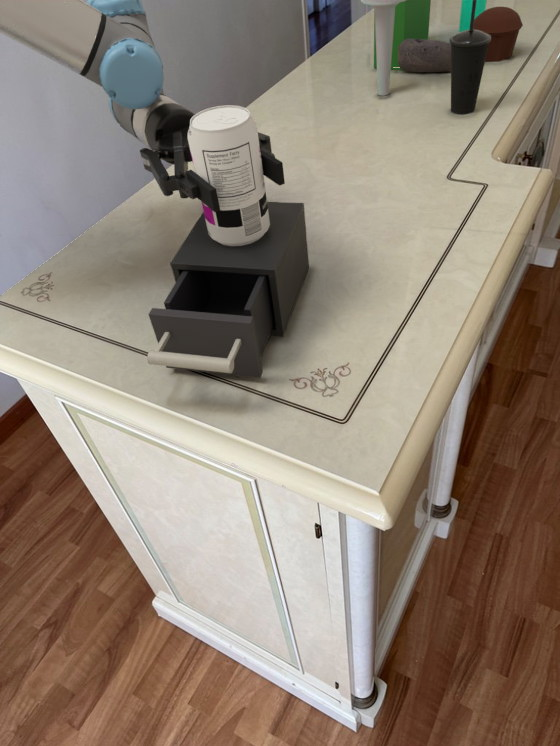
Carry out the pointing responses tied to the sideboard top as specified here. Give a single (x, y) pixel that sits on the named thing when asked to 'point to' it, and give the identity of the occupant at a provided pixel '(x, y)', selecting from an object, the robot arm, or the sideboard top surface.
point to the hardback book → (407, 26)
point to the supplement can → (230, 173)
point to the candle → (466, 13)
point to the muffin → (499, 31)
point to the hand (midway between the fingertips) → (248, 187)
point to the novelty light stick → (383, 40)
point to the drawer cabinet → (257, 257)
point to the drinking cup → (467, 66)
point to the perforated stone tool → (424, 55)
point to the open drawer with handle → (214, 323)
